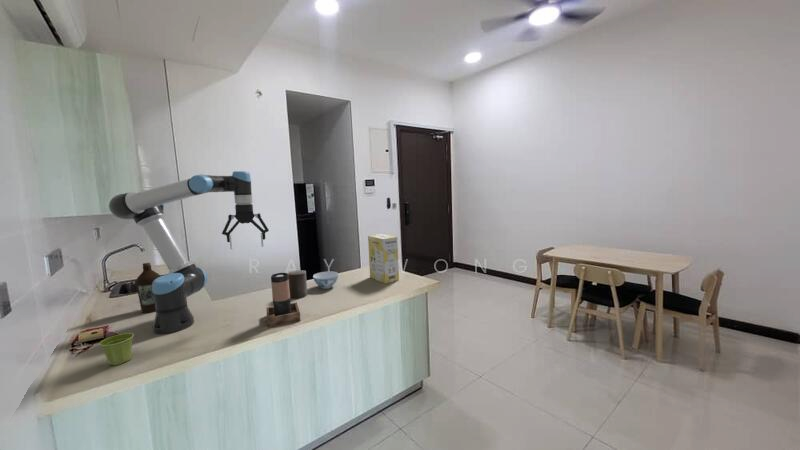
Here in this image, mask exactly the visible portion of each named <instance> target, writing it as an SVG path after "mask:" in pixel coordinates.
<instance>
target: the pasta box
mask: <svg viewBox="0 0 800 450" xmlns="http://www.w3.org/2000/svg"><path fill="white" fill-rule="evenodd" d="M367 243H368V264H369V266H368V267H369V277H370V279H373V280H375V281H377V282H381V283H382V284H383V283H384V284H385V285H386V284H389V283H393V282H397V281H399V280H400V273H399V268H400V267H399V251H398V250H399V247H398V246H399V244H398V243H399V242H398V236H396V235H388V234H385V233H378V234H372V235H371V234H370V235H367Z"/></svg>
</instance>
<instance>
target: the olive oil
mask: <svg viewBox="0 0 800 450" xmlns="http://www.w3.org/2000/svg"><path fill="white" fill-rule="evenodd" d="M158 277H161V275H160V274H159V273H158V272H156V271H154V270H153V269H152V265H151V262H143V263H142V272H141V273H140V274H139V276H137V278H136V280H135V286H136V290H137V291H136V292H137V296H138V300H139V305H140V310H141V313H143V314H149V313H154V312H155V313H156V309H155V303H154V296H153V292H152V283H153V281H154V280H155V279H157V278H158Z"/></svg>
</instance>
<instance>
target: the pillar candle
mask: <svg viewBox="0 0 800 450" xmlns="http://www.w3.org/2000/svg"><path fill="white" fill-rule="evenodd" d="M288 279H289V289H290V299H295V300H296V299H301V298H305V297H307V296H308V287H307V286H308V284H307V271H306V270H303V269H302V270H299V269H297V270H292V271H289V272H288Z"/></svg>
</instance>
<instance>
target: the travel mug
mask: <svg viewBox="0 0 800 450" xmlns="http://www.w3.org/2000/svg"><path fill="white" fill-rule="evenodd" d="M288 273H289V272H288ZM288 273H287V272H277V273H274V274H272V275H271V276H270V281H271V294H272V305H273V306H274V313H275V316H279V315H284V314H290V313H291V298H290V289H289V279H288Z"/></svg>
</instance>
